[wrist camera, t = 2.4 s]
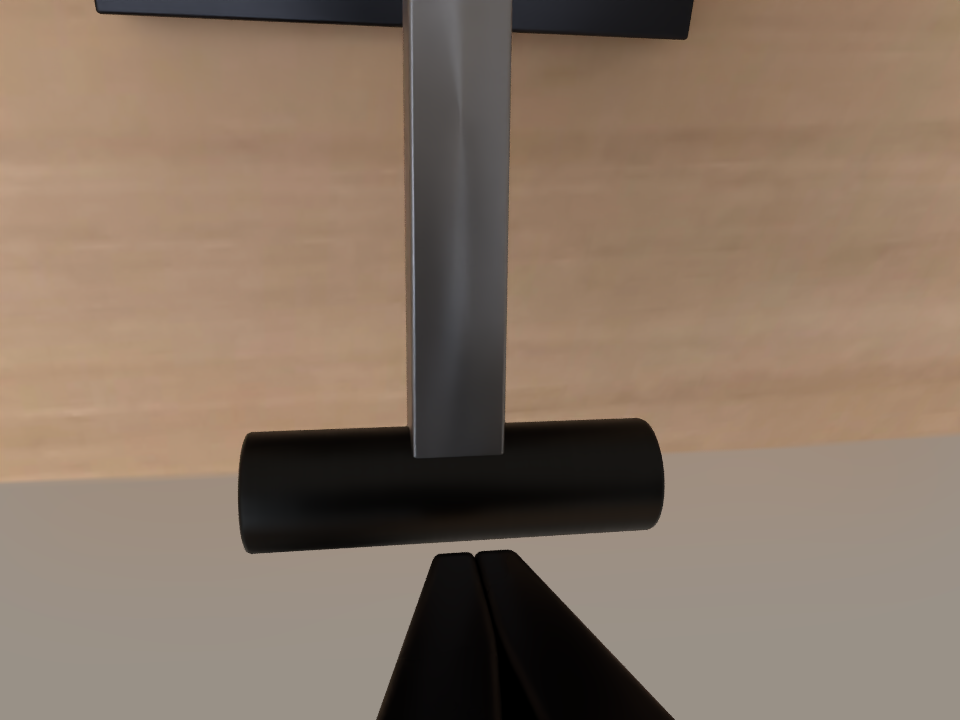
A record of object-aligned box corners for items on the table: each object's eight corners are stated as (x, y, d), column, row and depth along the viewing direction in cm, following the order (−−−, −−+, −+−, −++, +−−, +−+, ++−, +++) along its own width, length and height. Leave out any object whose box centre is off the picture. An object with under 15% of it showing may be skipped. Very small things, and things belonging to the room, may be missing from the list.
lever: (611, 490, 11) (679, 567, 9) (262, 508, 10) (235, 599, 8) (662, -512, 9) (775, -779, 6) (202, -589, 8) (134, -925, 5)
